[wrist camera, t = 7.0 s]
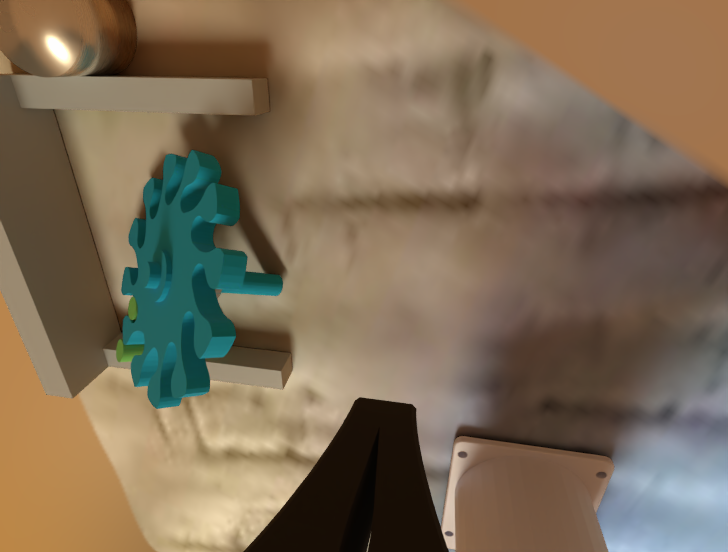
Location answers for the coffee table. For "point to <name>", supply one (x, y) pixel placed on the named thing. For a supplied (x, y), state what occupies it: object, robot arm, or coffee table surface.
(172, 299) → the gear
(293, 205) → the coffee table surface
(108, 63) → the bushing
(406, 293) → the coffee table surface
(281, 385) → the cradle
